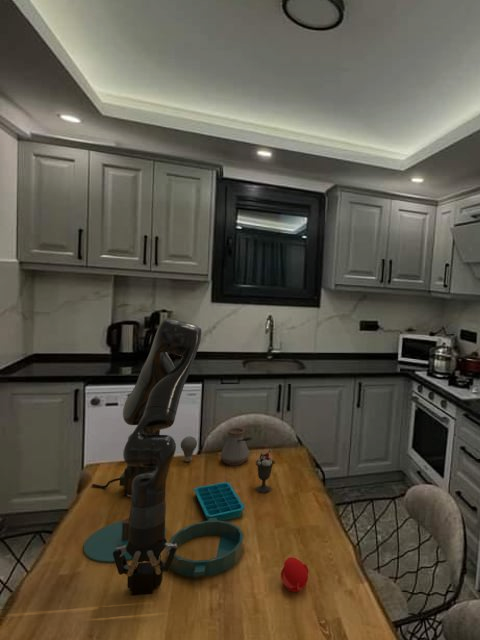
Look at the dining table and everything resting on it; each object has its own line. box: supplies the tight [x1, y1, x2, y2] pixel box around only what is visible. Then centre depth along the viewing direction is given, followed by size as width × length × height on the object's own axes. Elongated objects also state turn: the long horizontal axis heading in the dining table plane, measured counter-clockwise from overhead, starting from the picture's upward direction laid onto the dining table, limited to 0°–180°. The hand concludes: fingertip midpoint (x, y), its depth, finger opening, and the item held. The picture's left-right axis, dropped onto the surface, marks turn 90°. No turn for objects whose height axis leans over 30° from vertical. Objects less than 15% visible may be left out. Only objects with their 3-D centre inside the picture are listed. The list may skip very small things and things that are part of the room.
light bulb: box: [180, 435, 198, 463], centre depth 171 cm, size 6×6×10 cm
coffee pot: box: [219, 427, 256, 466], centre depth 171 cm, size 21×12×15 cm, turn 39°
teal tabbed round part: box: [167, 518, 244, 578], centre depth 116 cm, size 19×24×4 cm
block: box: [130, 561, 155, 596], centre depth 102 cm, size 4×4×5 cm
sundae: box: [255, 449, 276, 494], centre depth 154 cm, size 7×7×15 cm
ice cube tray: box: [193, 481, 246, 521], centre depth 140 cm, size 12×20×3 cm, turn 34°
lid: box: [83, 518, 167, 564], centre depth 119 cm, size 20×20×6 cm
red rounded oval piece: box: [280, 556, 309, 593], centre depth 108 cm, size 8×6×6 cm
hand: (144, 586), depth 102 cm, fingers closed on block, 4 cm apart
